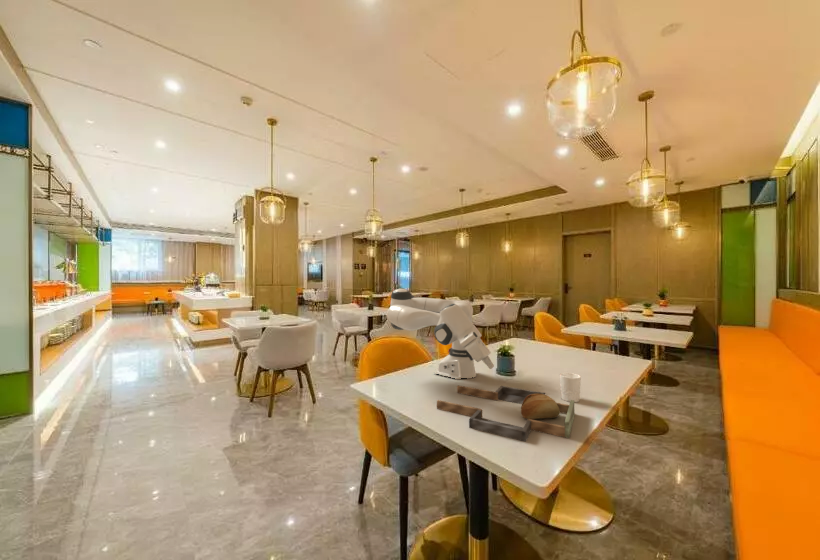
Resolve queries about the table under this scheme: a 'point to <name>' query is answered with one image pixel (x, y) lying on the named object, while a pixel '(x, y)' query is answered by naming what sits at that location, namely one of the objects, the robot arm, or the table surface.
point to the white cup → (570, 386)
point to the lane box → (503, 428)
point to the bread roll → (539, 407)
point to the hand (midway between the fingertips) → (492, 367)
